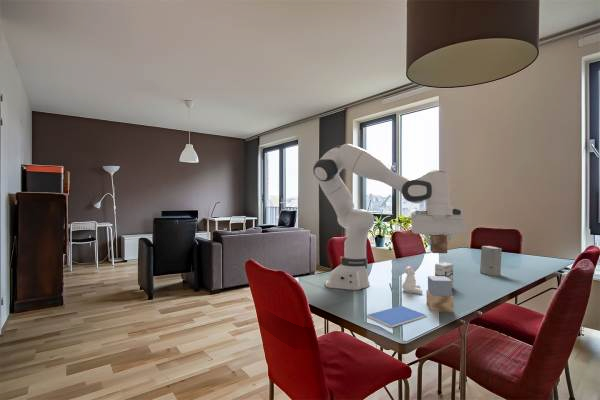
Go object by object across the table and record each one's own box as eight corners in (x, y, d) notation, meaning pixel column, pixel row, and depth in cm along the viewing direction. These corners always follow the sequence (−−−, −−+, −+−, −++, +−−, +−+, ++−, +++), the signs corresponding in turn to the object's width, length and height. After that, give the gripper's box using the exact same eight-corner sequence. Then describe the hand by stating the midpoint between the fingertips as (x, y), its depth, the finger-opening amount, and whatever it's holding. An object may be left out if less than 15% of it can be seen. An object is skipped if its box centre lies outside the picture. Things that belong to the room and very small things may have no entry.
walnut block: (433, 253, 120) (433, 235, 120) (430, 251, 125) (430, 233, 125) (447, 253, 119) (447, 235, 119) (443, 251, 124) (443, 233, 124)
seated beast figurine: (423, 294, 139) (422, 268, 139) (403, 293, 141) (402, 267, 141) (419, 289, 148) (419, 264, 148) (401, 288, 150) (401, 263, 150)
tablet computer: (401, 308, 124) (401, 304, 124) (428, 318, 113) (428, 314, 113) (365, 318, 114) (365, 314, 114) (391, 330, 103) (391, 326, 103)
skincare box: (479, 273, 179) (479, 246, 179) (489, 272, 181) (488, 245, 181) (492, 276, 171) (492, 248, 171) (502, 275, 173) (502, 247, 173)
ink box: (444, 290, 146) (443, 265, 146) (434, 287, 150) (434, 263, 150) (453, 287, 150) (453, 263, 150) (444, 285, 155) (444, 261, 155)
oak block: (431, 311, 119) (431, 296, 119) (426, 304, 127) (426, 290, 127) (453, 312, 117) (453, 296, 117) (447, 305, 125) (447, 290, 125)
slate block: (432, 295, 119) (432, 280, 119) (427, 290, 126) (427, 276, 126) (451, 296, 118) (451, 280, 118) (445, 291, 125) (445, 276, 125)
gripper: (412, 211, 120) (413, 246, 120) (468, 210, 117) (468, 246, 117) (409, 210, 127) (409, 243, 127) (461, 210, 124) (462, 244, 124)
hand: (438, 245), depth 122 cm, fingers closed on walnut block, 5 cm apart
